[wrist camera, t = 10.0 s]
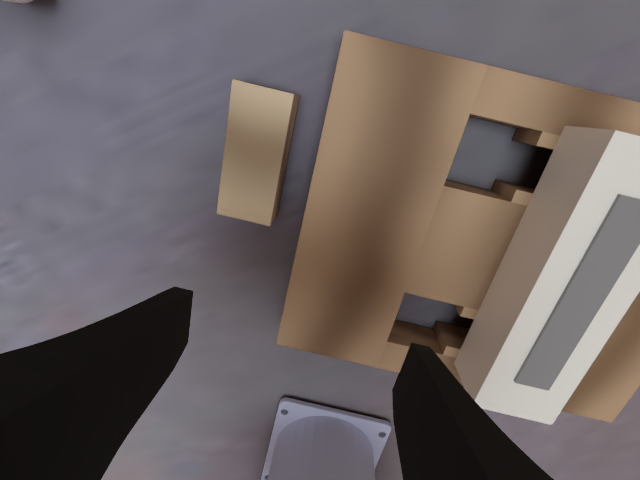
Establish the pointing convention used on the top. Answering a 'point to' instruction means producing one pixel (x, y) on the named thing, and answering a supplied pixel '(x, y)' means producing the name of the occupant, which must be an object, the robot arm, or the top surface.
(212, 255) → the top surface
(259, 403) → the top surface
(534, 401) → the white rectangular block
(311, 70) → the top surface
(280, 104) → the block
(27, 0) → the white rounded box
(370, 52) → the keyhole board
